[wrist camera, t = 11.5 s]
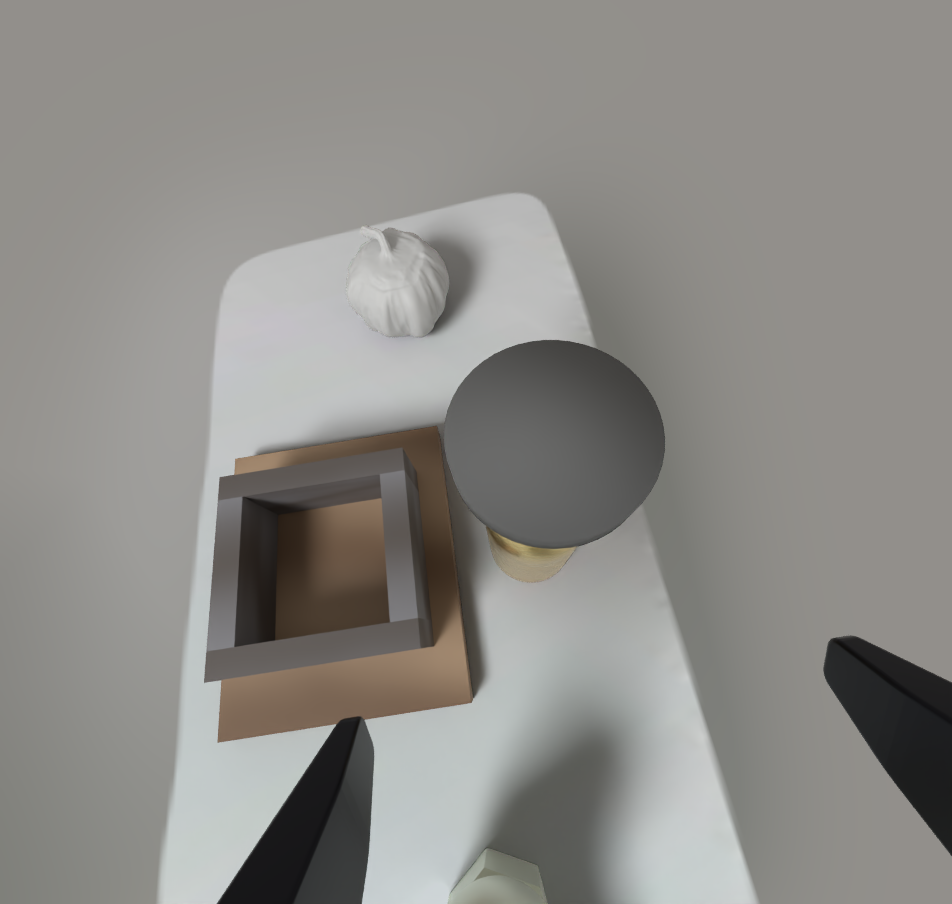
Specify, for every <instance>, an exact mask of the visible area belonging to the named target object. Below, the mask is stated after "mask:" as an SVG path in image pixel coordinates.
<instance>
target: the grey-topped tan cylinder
mask: <svg viewBox="0 0 952 904" xmlns="http://www.w3.org/2000/svg"><path fill="white" fill-rule="evenodd" d="M444 448H445V453H446V458H447V462H448V465H449V468H450V471H451V474H452V476H453V479H454V482H455V485H456V487H457V490H458V492H459V494H460V495H461V497H462V499H463V501H464V502H465V504H466V505H467V506H468V508H469V509H470V511H471V512H472V513H473V514H474V515H475V516H476V517H477V518H478V519H479V520H480V521H481V522H482V523H483V524H485V525H486V529H487V533H488V538H489V542H490V547H491V551H492V555H493V557H494V559H495V561H496V563H497V565H498V566H499V567H500V568H501V570H502V571H503V572H505V573H506V574H507V575H509V576H510V577H512V578H514V579H516V580H519V581H522V582H532V583H533V582H540V581H544V580H546V579H549V578H550V577H552V576H554V575H555V574H556V573H557V572H558V571H559V570H560V569H561V568H562V567H563V565H564V564H565V563H566V561H567V560H568V559H569V557H570V556H571V554H572V553H573V552H574V550H575V549H576V548H577V546H580V545H584V544H587V543H590V542H592V541H595V540H598V539H599V538H601V537H603V536H605V535H607V534H609V533H610V532H612V531H613V530H614V529H616V528H617V527H618V526H620V525H621V524H622V523H623V522H624V521H625V520H626V519H627V518H628V517H629V516H630V515H631V514H632V513H633V512H634V511H635V510H636V509H637V508H638V507H639V506H640V505H641V504H642V503H643V501H644V500H645V499H646V497H647V496H648V494H649V493H650V492H651V490H652V488H653V486H654V484H655V483H656V481H657V479H658V476H659V473H660V470H661V467H662V463H663V458H664V451H665V436H664V427H663V423H662V419H661V415H660V412H659V410H658V407H657V405H656V403H655V401H654V399H653V397H652V395H651V394H650V392H649V390H648V389H647V388H646V386H645V385H644V384H643V382H642V381H641V380H640V379H639V378H638V377H637V376H636V375H635V374H634V373H633V372H632V371H631V370H630V369H629V368H627V367H626V366H625V365H624V364H623V363H621V362H620V361H618V360H617V359H615V358H614V357H612V356H610V355H609V354H607V353H604V352H602V351H600V350H598V349H596V348H593V347H590V346H587V345H584V344H579V343H575V342H570V341H560V340H541V341H532V342H527V343H523V344H518V345H515V346H512V347H509V348H507V349H504V350H502V351H500V352H498V353H496V354H494V355H492V356H491V357H489V358H488V359H486V360H484V361H483V362H482V363H481V364H479V365H478V366H477V367H476V368H475V369H473V370H472V372H471V373H470V374H469V375H468V376H467V377H466V378H465V379H464V381H463V382H462V383H461V385H460V386H459V387H458V389H457V391H456V393H455V394H454V396H453V398H452V400H451V403H450V406H449V408H448V411H447V415H446V420H445V426H444Z"/></svg>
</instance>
